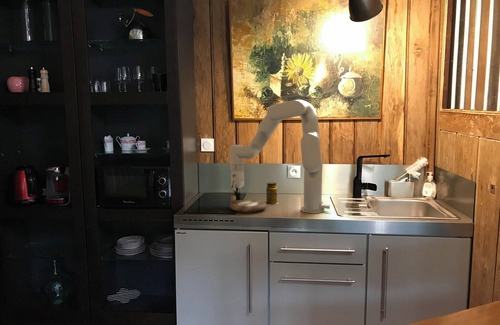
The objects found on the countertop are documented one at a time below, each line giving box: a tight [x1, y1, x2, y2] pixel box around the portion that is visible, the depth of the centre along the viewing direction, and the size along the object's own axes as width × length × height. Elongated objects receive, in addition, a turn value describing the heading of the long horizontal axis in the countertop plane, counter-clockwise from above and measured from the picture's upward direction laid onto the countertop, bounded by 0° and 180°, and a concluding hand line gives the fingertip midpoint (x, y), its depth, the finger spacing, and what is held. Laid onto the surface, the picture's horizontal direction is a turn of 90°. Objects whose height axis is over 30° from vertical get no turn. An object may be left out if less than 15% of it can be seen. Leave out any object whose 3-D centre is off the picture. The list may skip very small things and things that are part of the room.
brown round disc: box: [229, 194, 268, 212], centre depth 227 cm, size 20×20×6 cm
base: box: [239, 211, 257, 213], centre depth 228 cm, size 12×12×1 cm
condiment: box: [264, 181, 280, 206], centre depth 241 cm, size 7×8×12 cm
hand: (237, 199), depth 233 cm, fingers closed
